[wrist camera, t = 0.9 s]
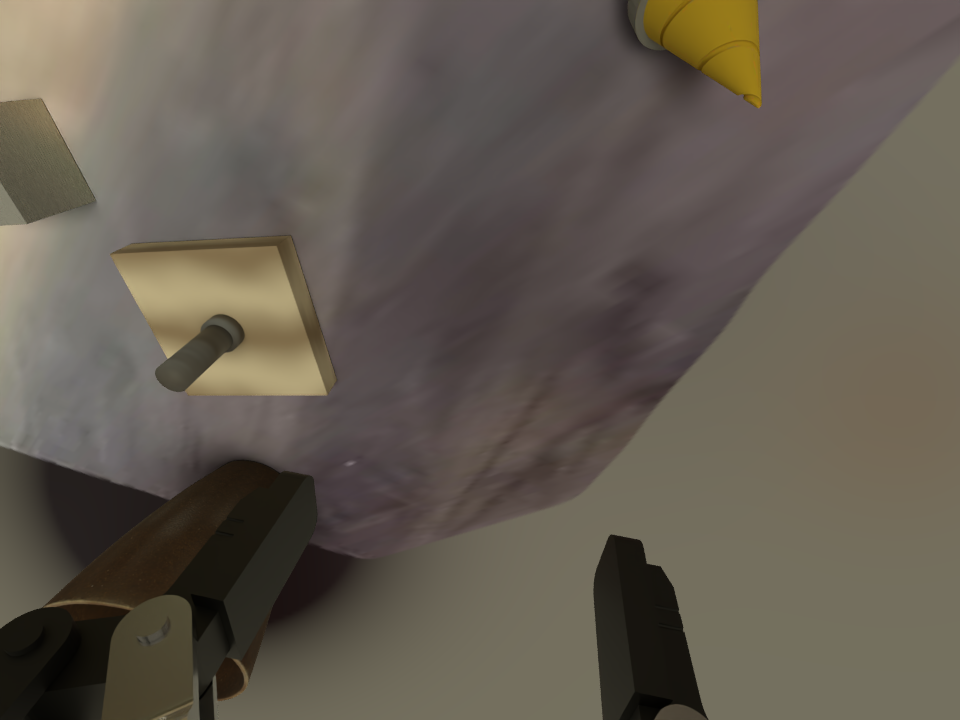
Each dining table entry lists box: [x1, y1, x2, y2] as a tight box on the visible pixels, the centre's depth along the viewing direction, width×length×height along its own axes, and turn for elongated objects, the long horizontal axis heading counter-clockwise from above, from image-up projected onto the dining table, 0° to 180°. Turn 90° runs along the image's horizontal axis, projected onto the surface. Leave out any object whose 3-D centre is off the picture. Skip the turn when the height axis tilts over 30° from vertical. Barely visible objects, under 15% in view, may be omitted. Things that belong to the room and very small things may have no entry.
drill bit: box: [627, 0, 762, 108], centre depth 19 cm, size 5×5×10 cm
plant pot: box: [42, 460, 279, 701], centre depth 39 cm, size 15×15×16 cm
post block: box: [110, 236, 337, 395], centre depth 31 cm, size 12×12×8 cm
